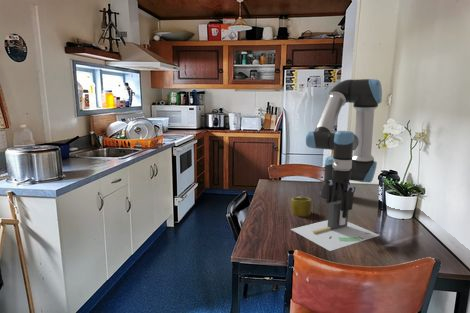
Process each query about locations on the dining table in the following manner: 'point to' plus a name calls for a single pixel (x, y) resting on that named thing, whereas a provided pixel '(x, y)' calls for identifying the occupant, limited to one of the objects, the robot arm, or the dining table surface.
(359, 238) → the board
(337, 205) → the gray bar
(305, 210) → the mug
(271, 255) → the dining table surface
